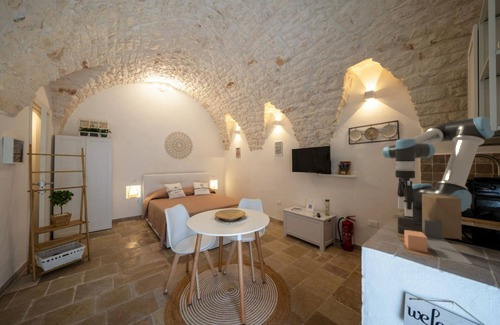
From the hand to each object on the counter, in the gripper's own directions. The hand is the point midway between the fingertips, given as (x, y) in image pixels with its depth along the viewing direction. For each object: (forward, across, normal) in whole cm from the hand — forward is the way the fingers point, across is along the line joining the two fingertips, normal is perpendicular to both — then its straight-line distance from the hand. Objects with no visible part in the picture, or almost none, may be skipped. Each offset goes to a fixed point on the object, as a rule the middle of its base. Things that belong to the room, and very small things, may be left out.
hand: (404, 212), depth 92 cm
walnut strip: (+12, +11, 0) cm, 16 cm away
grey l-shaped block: (+12, +11, +10) cm, 19 cm away
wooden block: (+12, -8, +15) cm, 21 cm away
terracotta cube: (+11, +16, 0) cm, 19 cm away
